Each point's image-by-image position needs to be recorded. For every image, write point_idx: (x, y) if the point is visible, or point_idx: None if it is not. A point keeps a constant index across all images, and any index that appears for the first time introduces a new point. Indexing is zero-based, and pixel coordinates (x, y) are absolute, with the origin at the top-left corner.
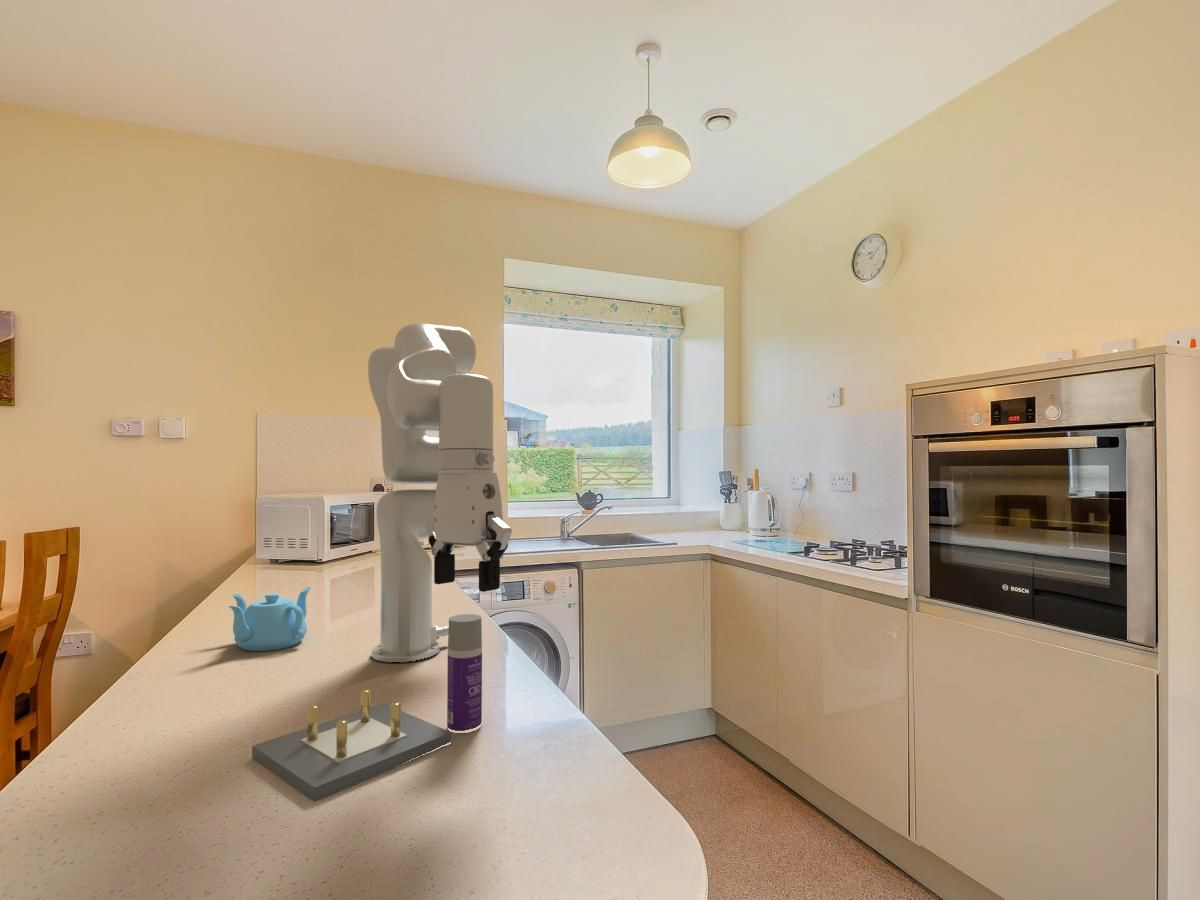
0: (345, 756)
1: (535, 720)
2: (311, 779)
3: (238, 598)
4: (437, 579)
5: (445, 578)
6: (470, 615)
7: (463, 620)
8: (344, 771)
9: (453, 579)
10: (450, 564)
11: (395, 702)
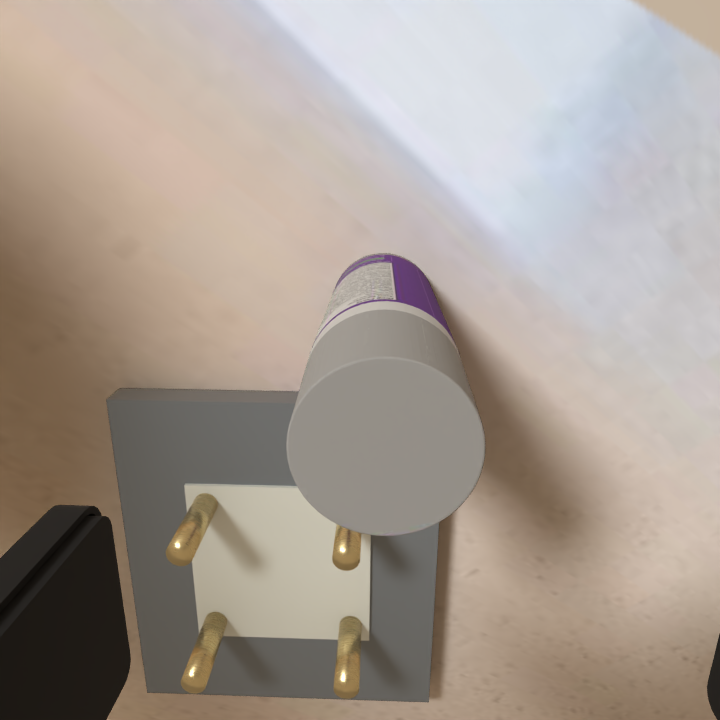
0: (361, 623)
1: (529, 123)
2: (394, 693)
3: None
4: (110, 703)
5: (103, 629)
6: (362, 395)
7: (430, 497)
8: (416, 647)
9: (99, 530)
10: (14, 699)
11: (336, 554)
